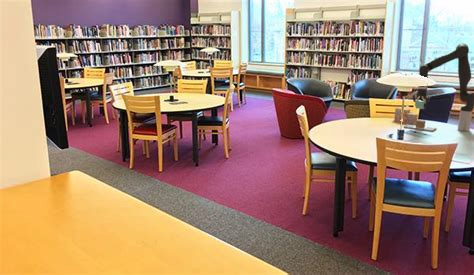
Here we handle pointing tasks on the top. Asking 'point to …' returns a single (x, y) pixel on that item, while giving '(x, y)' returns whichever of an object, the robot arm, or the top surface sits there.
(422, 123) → the walnut block
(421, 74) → the robot arm
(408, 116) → the stack of blocks
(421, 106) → the teal block
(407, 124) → the blueprint board
